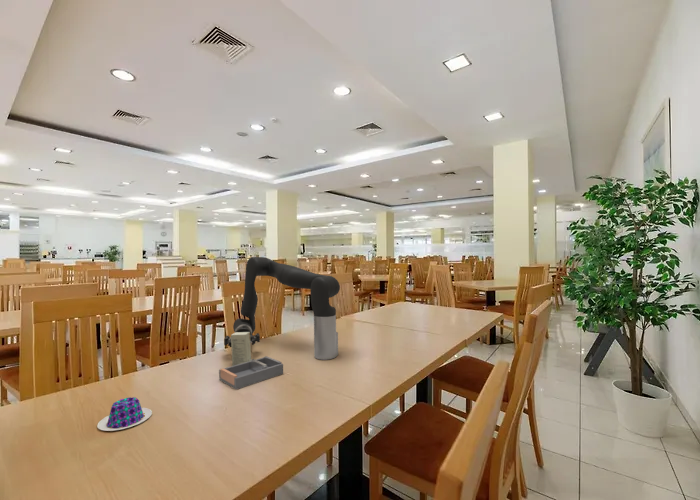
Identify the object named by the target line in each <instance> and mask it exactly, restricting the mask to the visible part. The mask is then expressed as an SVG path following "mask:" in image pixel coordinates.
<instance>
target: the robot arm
mask: <svg viewBox="0 0 700 500" xmlns="http://www.w3.org/2000/svg"><path fill="white" fill-rule="evenodd" d="M265 276H266V277H273V278H275V279H276V280H277V282H279V283H280V284H282V285H284V286H287V287H291V288H293V289H303V290H305V289H306V290H310V302H311V309H312V311H313V346H314V347H313V349H314V353H313V356H314V358H315V359H317V360H322V361H323V360H325V361H326V360H327V361H328V360H332V359H334V358H336V357H337V356H339V332H338V331H337V310H336V307H334V306H332V305H331V303H330V298H333V297H335V296H337V295H338V294H339V293H340V290H341V285H340V282H339V280H338V279H336V277H334V276H332V275H328V274H326V275H325V274H319V273H314V272H312V271H309V270H308V269H307V270H306V269H303V268H299V267H296V266H293V265H290V264H286V263H280V262H277V261H275V260H272V259H270V258H268V257H264V256H254V257H253V256H252V257H249V258H248V260H247V261H246V266H245V273H244V277H245V278H244V291H243V293H244V294H243V297H242V298H243V300H242V303H241V308H240V314H241V316H243V317H245V318H237V319H236V320H235V321H234V322H233V326H232V328H233V332H234V333H235V332H250V344H251V346H254V345H255V344H256V343H260V342H261V339H260V338H261V337H260V336H261V335H260V333H259V332H256V333H255V335H254V332H255V331H256V310H257V307H258V301H259V298H258V294H257V291H256V286H255V285H256V284H255V283H256V278H257V277H265ZM247 318H248V319H247ZM223 344H224V346H228V347H229V348H231V335H226V336H224V339H223Z"/></svg>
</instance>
